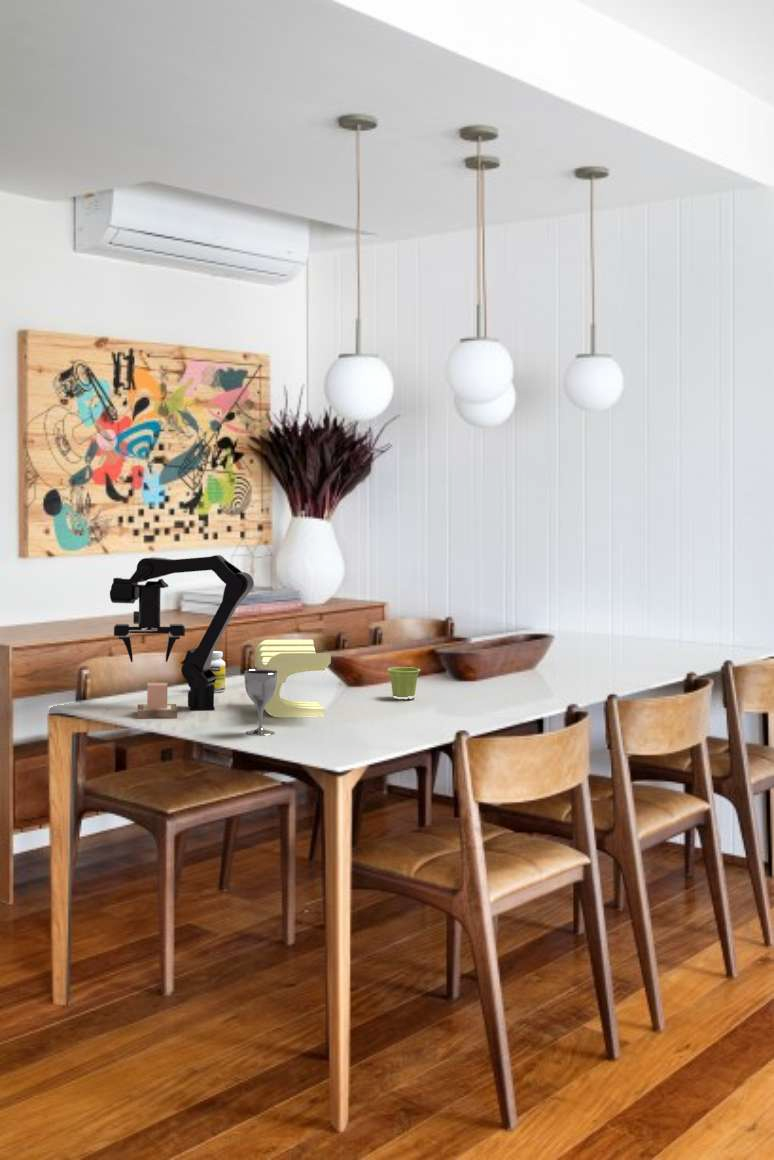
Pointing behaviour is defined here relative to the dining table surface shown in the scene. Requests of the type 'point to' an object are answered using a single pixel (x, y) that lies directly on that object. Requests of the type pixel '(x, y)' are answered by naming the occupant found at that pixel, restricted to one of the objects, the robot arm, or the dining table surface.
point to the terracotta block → (156, 695)
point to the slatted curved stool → (290, 672)
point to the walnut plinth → (156, 711)
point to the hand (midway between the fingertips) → (149, 661)
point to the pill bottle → (218, 671)
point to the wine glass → (260, 693)
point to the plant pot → (403, 681)
